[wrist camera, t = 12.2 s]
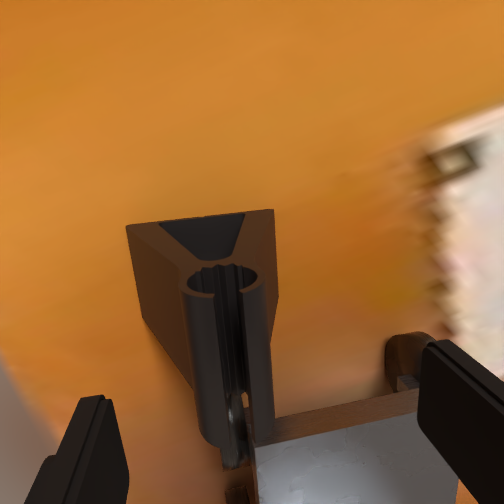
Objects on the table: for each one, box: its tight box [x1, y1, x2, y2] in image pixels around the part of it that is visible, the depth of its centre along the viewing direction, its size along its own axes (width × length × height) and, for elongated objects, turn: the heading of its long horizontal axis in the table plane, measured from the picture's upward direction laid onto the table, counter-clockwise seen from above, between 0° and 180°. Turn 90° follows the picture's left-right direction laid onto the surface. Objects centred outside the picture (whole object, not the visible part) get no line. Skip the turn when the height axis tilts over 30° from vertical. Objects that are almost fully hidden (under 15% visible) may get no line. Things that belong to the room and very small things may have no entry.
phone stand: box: [126, 209, 279, 450], centre depth 18 cm, size 9×6×12 cm, turn 94°
